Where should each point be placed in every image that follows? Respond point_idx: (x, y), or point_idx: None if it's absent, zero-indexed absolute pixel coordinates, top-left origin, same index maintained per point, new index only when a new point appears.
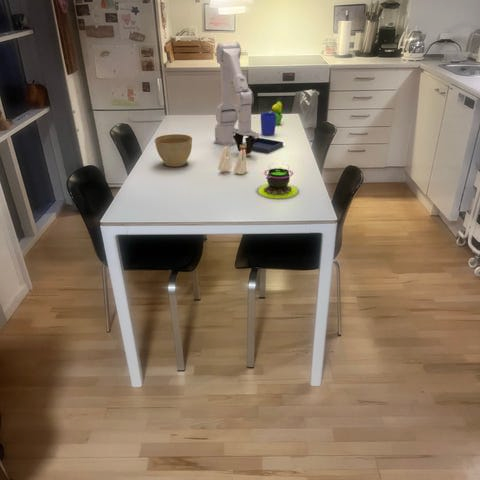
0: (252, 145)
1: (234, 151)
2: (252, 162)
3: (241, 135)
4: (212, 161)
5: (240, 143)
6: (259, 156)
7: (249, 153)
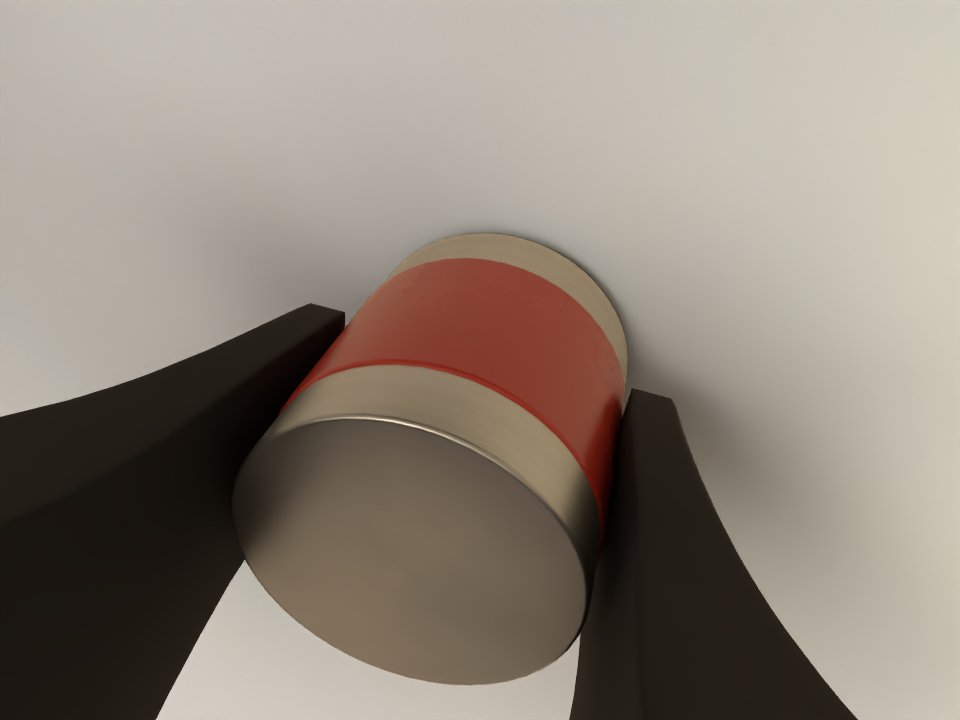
0: (725, 557)
1: (85, 118)
2: (867, 672)
3: (6, 701)
4: (234, 700)
5: (254, 550)
6: (944, 261)
7: (619, 359)
